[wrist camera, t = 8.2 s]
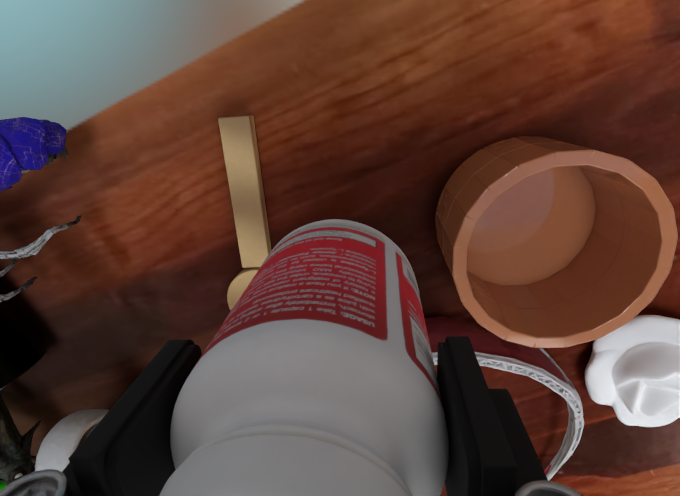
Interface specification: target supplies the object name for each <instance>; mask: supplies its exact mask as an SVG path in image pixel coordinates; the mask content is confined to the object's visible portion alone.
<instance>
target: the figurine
mask: <svg viewBox="0 0 680 496" xmlns="http://www.w3.org/2000/svg"><path fill="white" fill-rule="evenodd" d="M40 423H41V421H39V422H37V423H36V424H35V425H34V427H32V428H31V429H30V430H29V431H28V432H27V433H26V434H25V435H24V436H21V435H20V433H19V432H18V430H17V428H16V426H15V424H14V422H13V419H12V417H11V415H10V413H9V411H8V409H7V407H6V405H5V403H4V401H3V398H2V396H1V395H0V478H1V479H4V480H5V485H6V486H7V485H9V484H10V483H12V482H14V481H15V480H17V479H19V478H21V477H23V476H25V475H28V474H30V473H33V472H35V467H34V465H33V463H36V457H37V456H31V454H30V449H31V442H32V437H33V433H34V431H35V430H36V428H37V427H38V426H39V424H40Z"/></svg>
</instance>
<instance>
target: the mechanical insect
mask: <svg viewBox="0 0 680 496" xmlns="http://www.w3.org/2000/svg"><path fill="white" fill-rule="evenodd" d="M65 142H66V129H65V128H64V127H62V126H61V125H60V124H58V123H55V122H50V121H48V120H37V119H32V118H26V117H20V118H13V119H5V120H0V191H2V190H5V189H9V188H12V186H11V185H13V184H15V183H16V182H18V181H19V180H20V179H21V176H22V174H23V173H26V172H28V171H29V170H40V169H41V168H42V167H43V166H44V165H48V164H49V163H51V162H53V161H54V160H53V159H56V158H59V157H65V158H66V159H67V155H68V154H69V153H68V151H67V148H66V146H65ZM80 218H81V216H78V217H77V218H76V220H75V221H73V222H69V223H66V224H62V225H59V226H54V227H52V228H51V229H49V230H47V231H46V232H45V233H44V234H43V235H42V236H41V237H39V238H38V239H37V240H35V241H34V242H33V243H31V244H29V245H28V246H25V247H21V248H19V249H16V250H14V251H12V252H2V251H0V259H13V258H14V259H13V261H12V263H11V264H9V265H8V266H7V267H6V268H5V269H4V270H2V271H1V272H0V277H2V276H3V275H4V274H5V273H7V272H8V271H9V270H10V269H11V268H12V267H13V266H14V265H15V264H16V262H17V261H18V259H19V258H24V257H29V256H31V255H37V253H38V252H39V251H40V250H41V248H42V247H43V246H44V244H45V243H46V242H47V241H48V240H49V239H50V237H51V236H52V235H53V234H55V233H56V232H58V231H62V230H65V229H67V228H69V227H71V226H72V225H74V224H77V223H78V222H79V221H80ZM36 278H37V277H33V278H31V279H30V280H28V281H27V282H26V283H25V284H24V285H23V286H22V287H21V288H19V289H17V290H15V291H14V292H13V291H12V292H10V293H8V294H5V295H0V302H2V301H5V300H8V299H10V298H12V297H14V296H15V295H17V294H18V293H19V292H21V291H22V290H26V289H27V288H28V287H29V286H30V285H31V284H33V282H34V280H35V279H36Z"/></svg>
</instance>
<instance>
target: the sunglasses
mask: <svg viewBox="0 0 680 496" xmlns="http://www.w3.org/2000/svg"><path fill="white" fill-rule="evenodd" d="M424 319H425V324H426V329H427V334H428V338H429V343H430V347H431V352H432V357H433V362H434V365H437V358H438V342H445V339H446V336H468V337H469V339H470V341H471V344H472V347H473V349H474V352H475V355H476V357H477V360H478V363H479V365H480V366H486V367H491V368H495V369H499V370H504V371H508V372H512V373H517V374H521V375H525V376H529V377H531V378H533V379H535V380H537V381H539V382H541V383H542V384H544V385H546V386H547V387H549V388H550V389H552V390H553V391H555V392H556V393H558V394H559V395H561V396H562V397H563V398H564V399H565V400H566V401H567V406H568V411H569V421H568V426H567V431H566V434H565V437H564V439H563V442H562V445H561V448H560V450H559V452H558V453H557V455H556V456H555V457H554V459H553V460H552V461H551V463H550V464H549V466H548V467H547V468H546V470H545V471H544V472H545V475H546V477H547V479H548V481H549V480H550V479H551V478H552V477H553V476H554V475H555V473H556V472H557V471H558V469H559V468H560V467H561V466H562V465H563V464H564V463H565V462H566V461H567V460H568V459H569V457H570V456H571V455H572V453H573V452H574V450H575V448H576V447H577V445H578V443H579V442H580V438H581V434H582V430H583V426H584V419H583V410H582V404H581V400H580V397H579V395H578V392H577V390H576V388H575V386H574V385H573V383H572V382H571V380H569V379H568V378H567V376H566V375H565V374H564V372H563V371H562V370H561V368H560V367H559V366H558V365H557V364H556V362H555V361H554V360H553V359H552V358H551V357H550V356H549V355H548V354H547V353H546V351H545V350H544V349H543V348H534V347H533V348H532V347H528V346H524V345H521V344H517V343H513V342H509V341H506V340H503V339H501V338H500V337H498V336H497V335H495V334H493V333H492V332H490V331H489V330H487V331H486V332H485V333H478V332H475V331H473V330H471V329H470V328H468V327H467V326H466V325H464V324H463V323H460V322H458V321H456V320H454V319H452V318H450V317H445V316H437V317H430V318H424ZM482 362H484V363H482ZM487 362H489V363H491V364H487ZM497 364H499V365H497ZM510 367H511V368H510ZM514 368H515V369H516V370H514ZM525 372H526V373H525ZM534 376H535V377H534ZM549 384H550V385H549ZM571 419H573V422H571Z"/></svg>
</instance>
